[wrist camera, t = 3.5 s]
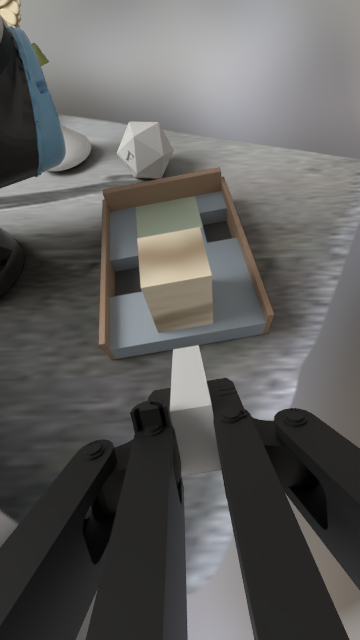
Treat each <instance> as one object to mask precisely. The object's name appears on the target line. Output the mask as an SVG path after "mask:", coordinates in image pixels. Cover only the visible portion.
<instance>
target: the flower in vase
mask: <svg viewBox="0 0 360 640" xmlns="http://www.w3.org/2000/svg"><path fill="white" fill-rule="evenodd" d="M20 6H21V1H20V0H0V15H1V17H2V19H3V21H4V24H5V26H9V27H10V26H12V27H14V28H20V26H19V24H18V23H19V22H20V21H21V15H20V13H19V12H20V9H19V8H20ZM32 47H33V49H34V52H35V54H36V56H37V59H38V61H39V64H40V66H42V65H44V64H46V63H48V62H49V61H48V60H47V58H46V57H45V56H44V54H43V53H42V52H41V50H40V49H39V47H38V46H37V45H36V44H35V43H33V44H32ZM60 125H61V124H60ZM61 129H62V132H63V136H64V141H65V147H66V154H65V158H64V159H63V161H62V163H61V164H60V165H58V166H56V167H54V168H51V169H49V170H47V171H61V170H66V169H69V168H72V167H74V166H76V165H78V164H80V163H81V162H83V161H84V160H85V159H86V158H87V157H88V156H89V154H90V152H91V142H90V141H89V140H88V139H87V137H86V136H84V135H82V134H81V133H79V132H77V131H75V130H72V129H70V128H67V127H65V126H63V125H61Z"/></svg>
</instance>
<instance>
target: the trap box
mask: <svg viewBox="0 0 360 640" xmlns="http://www.w3.org/2000/svg"><path fill="white" fill-rule="evenodd" d="M103 195H104V198H105V199H104V200H103V208H102V246H101V284H100V321H99V345H100V347H101V348H102V349H103V350H104V351H105V353H106V354H107V355H108V356H109V357H110V358H111V360H114V359H120V358H125V357H131V356H137V355H143V354H149V353H155V352H161V351H166V350H172V349H178V348H184V347H190V346H196V345H202V344H208V343H213V342H219V341H225V340H231V339H237V338H243V337H249V336H255V335H260V334H266V333H268V332H269V329H270V326H271V323H272V320H273V317H274V312H273V310H272V307H271V304H270V301H269V299H268V296H267V293H266V291H265V288H264V285H263V282H262V280H261V277H260V274H259V272H258V269H257V266H256V263H255V261H254V258H253V255H252V252H251V250H250V247H249V244H248V242H247V239H246V236H245V233H244V231H243V228H242V225H241V222H240V220H239V217H238V214H237V212H236V209H235V206H234V203H233V201H232V198H231V195H230V192H229V190H228V187H227V184H226V182H225V179H224V177H221V170H220V167H219V168H214V169H209V170H203V171H198V172H193V173H188V174H183V175H177V176H172V177H167V178H162V179H156V180H151V181H146V182H141V183H136V184H130V185H125V186H120V187H115V188H110V189H104V190H103ZM197 227H200V230H201V234H202V238H203V242H204V246H205V250H206V254H207V258H208V262H209V266H210V270H211V274H212V299H213V324H208V325H203V326H197V327H191V328H185V329H179V330H174V331H168V332H162V333H158V331H157V328H156V326H155V323H154V321H153V318H152V316H151V313H150V311H149V308H148V305H147V303H146V300H145V298H144V295H143V293H142V290H141V285H140V271H139V256H138V242H137V238H143V237H148V236H154V235H159V234H164V233H170V232H175V231H181V230H186V229H191V228H197Z"/></svg>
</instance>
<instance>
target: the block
mask: <svg viewBox="0 0 360 640" xmlns="http://www.w3.org/2000/svg"><path fill="white" fill-rule="evenodd" d="M137 242H138V256H139V271H140V285H141V290H142V293H143V295H144V298H145V300H146V303H147V305H148V308H149V311H150V313H151V316H152V318H153V321H154V323H155V326H156V328H157V331H158V333H162V332H168V331H174V330H179V329H185V328H191V327H197V326H203V325H208V324H213V299H212V274H211V270H210V266H209V262H208V258H207V254H206V250H205V246H204V242H203V238H202V234H201V230H200V227H197V228H191V229H186V230H181V231H175V232H170V233H164V234H159V235H154V236H148V237H143V238H137Z"/></svg>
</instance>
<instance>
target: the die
mask: <svg viewBox="0 0 360 640" xmlns="http://www.w3.org/2000/svg"><path fill="white" fill-rule="evenodd" d="M173 151H174V150H173V148H172V146H171V145H170V143H169V141H168V139H167V137H166V135H165V133H164V132H163V130H162V128H161V126H160V124H159V122H129V123H128V126H127V129H126V131H125V134H124V136H123V139H122V141H121V144H120V146H119V149H118V151H117V154H118V156H119V157H120V158H121V160H122V161H123V162H124V164H125V165H126V166H127V168H128V169H129V171H130V172H131V173H132V175H133V176H134V177H135V178H146V179H162V176H163V174H164V172H165V169H166V167H167V165H168V163H169V160H170V158H171V156H172V153H173Z"/></svg>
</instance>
